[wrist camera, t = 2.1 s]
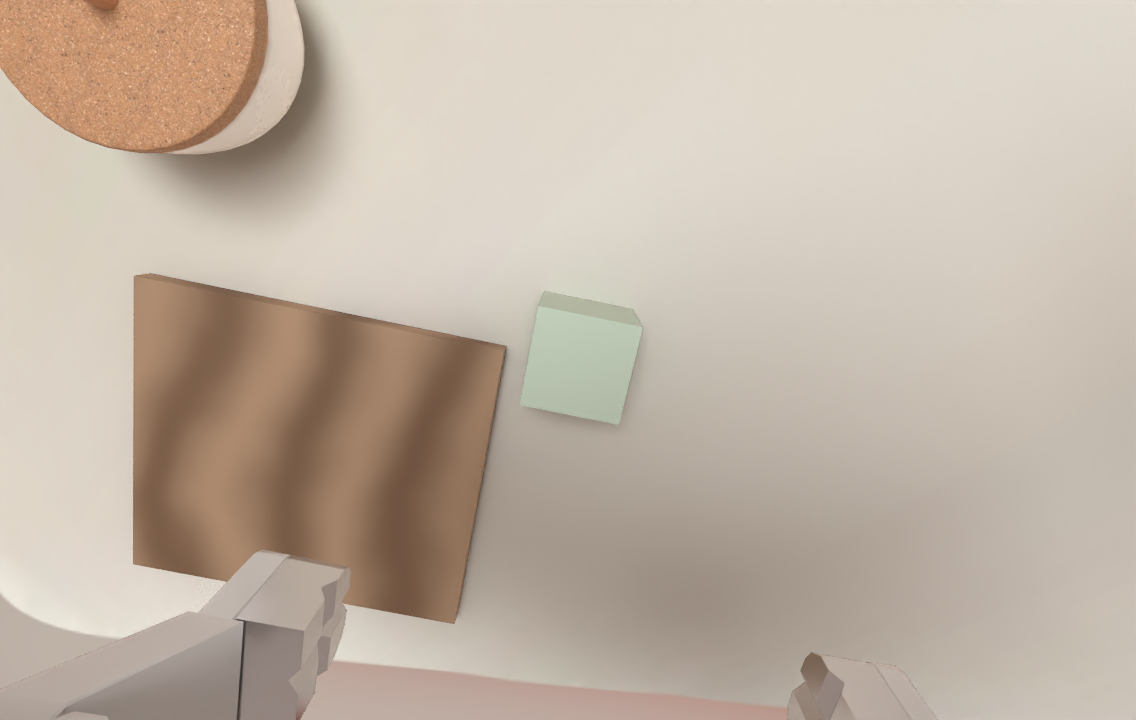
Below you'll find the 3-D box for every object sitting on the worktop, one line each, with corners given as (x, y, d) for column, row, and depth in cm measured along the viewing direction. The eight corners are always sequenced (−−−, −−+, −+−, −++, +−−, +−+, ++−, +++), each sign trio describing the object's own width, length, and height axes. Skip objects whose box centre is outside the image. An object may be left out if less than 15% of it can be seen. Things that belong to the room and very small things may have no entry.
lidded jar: (377, 14, 27) (279, -83, 18) (286, 206, 30) (159, 205, 21) (174, -122, 26) (-42, -299, 17) (95, 90, 28) (-130, 34, 19)
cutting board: (506, 346, 32) (503, 351, 30) (458, 610, 36) (454, 624, 35) (150, 273, 31) (133, 275, 30) (147, 552, 35) (133, 564, 34)
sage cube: (633, 309, 31) (643, 327, 26) (613, 392, 32) (619, 425, 27) (544, 290, 31) (538, 305, 26) (527, 375, 32) (519, 405, 27)
